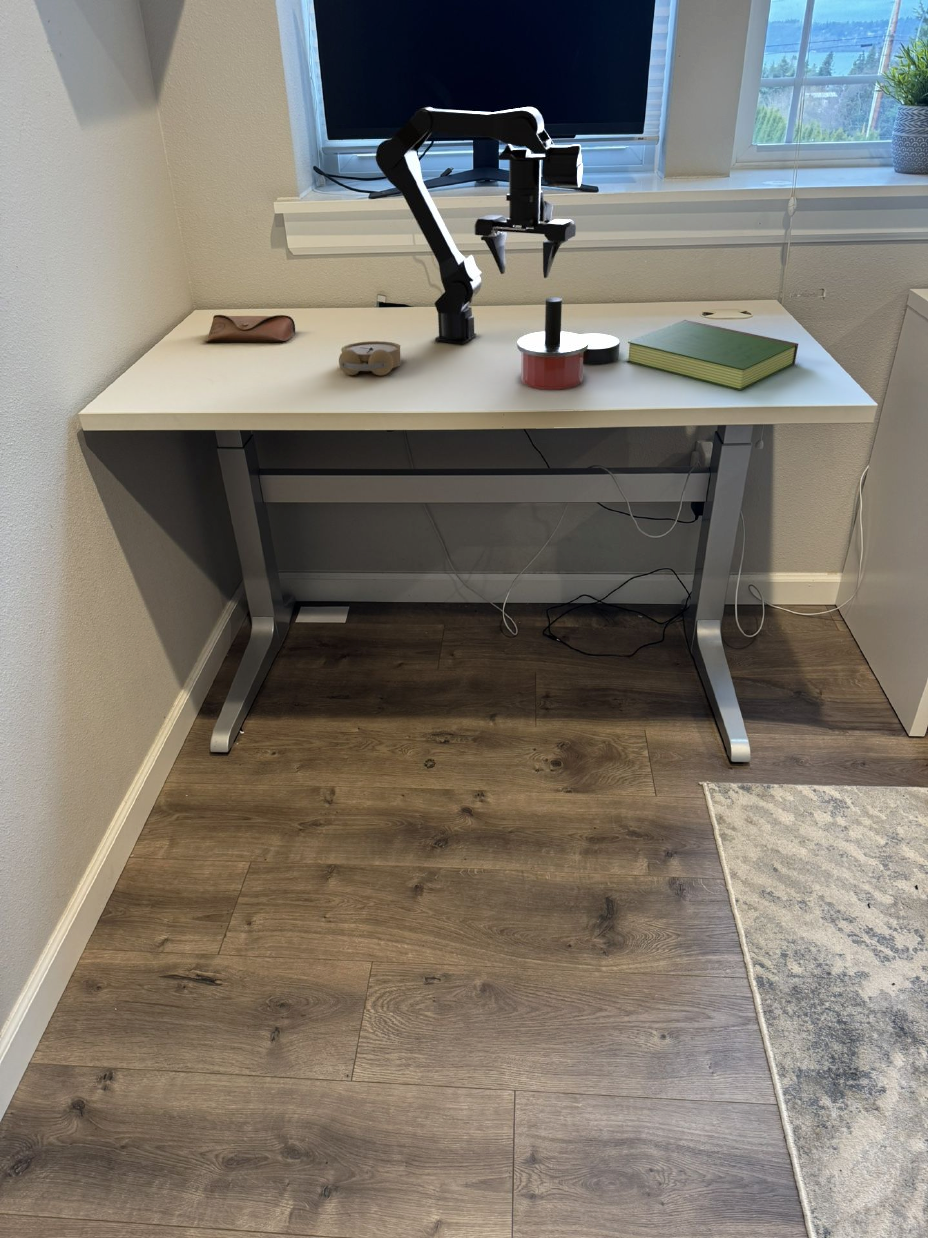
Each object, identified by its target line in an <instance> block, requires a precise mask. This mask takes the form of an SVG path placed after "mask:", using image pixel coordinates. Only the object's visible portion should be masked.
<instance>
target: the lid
mask: <svg viewBox="0 0 928 1238" xmlns="http://www.w3.org/2000/svg"><path fill="white" fill-rule="evenodd" d="M562 307H563V299H562V298H560V297H550V298H549V297H548V298H546V299H545V309H544V310H545V314H544V317H545V318H544V331H538V332H531V333H528V334H525V335H523V336H521V337H519V339H517V341H516V347H517V350H518V351H520V353H521V352H523V353H526V354H529V355H533V356H539V357H565V356H571V355H576V354H579V353H582V352H584V351H585V350H587V348H588V343H589V342H588V340H587V339H586V338H585V337H583V336H581V335H580V334H578V333H574V332H569V331H562V312H563V311H562V310H563V308H562Z"/></svg>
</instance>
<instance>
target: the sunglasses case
mask: <svg viewBox="0 0 928 1238" xmlns="http://www.w3.org/2000/svg"><path fill="white" fill-rule="evenodd" d="M295 335H296V323H295V321H294V319H293V317H291V316H290V315H285V314H277V315H227V314H226V315H224V314H215V315H214V316H213V317H212V322H211V326H210V328H209V333H208V335H207V339H206V340H204V343H214V342H217V343H219V342H221V343H252V344H254V343H255V344H261V343H262V344H265V343H278V342H287V341H289V340H291V339H292V338H293V337H294V336H295Z"/></svg>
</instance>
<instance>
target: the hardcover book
mask: <svg viewBox="0 0 928 1238" xmlns="http://www.w3.org/2000/svg"><path fill="white" fill-rule="evenodd" d="M627 344H628V345H629V346H628V359H626V362H627V363H631V364H633V365H638V366H642V367H646V368H649V369H653V370H658V371H662V372H665V373H669V374H673V375H678V376H682V377H685V378H688V379H692V380H697V381H701V382H705V383H708V384H713V385H717V386H720V387H724V388H728V389H732V390H736V391H739V392H741V391H743V390H745V389H747V388H749V387H751V386H753V385H756V384H757V383H759V382H761V381H763V380H765V379H767V378H769V377H771V376H773V375H775V374H777V373H780V372H782V371H783V370H786V369H788V368H790V367H791V366H793V365H795V364H796V360H797V354H798V348H799V343H798V342H793V341H788V340H783V339H779V338H773V337H769V336H764V335H758V334H756V333H755V334H754V333H750V332H746V331H739V330H736V329H731V328H726V327H721V326H717V325H712V324H707V323H702V322H697V321H692V320H687V319H684V320H682V321H678V322H675V323H674V324H671V325H668V326H665V327H663V328H660V329H658V330H655V331H652V332H649V333H646V334H644V335H642V336H639V337H636V338H634V339H631V340H629V341H627Z"/></svg>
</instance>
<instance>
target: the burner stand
mask: <svg viewBox="0 0 928 1238" xmlns="http://www.w3.org/2000/svg"><path fill="white" fill-rule="evenodd" d="M579 335H581V336H583V337H585V338H586V339H587V340H588V342H589V343H588V348H587V350H585V351H584V362H583V365H585V366H586V365H587V366H599V365H607V364H611V363H614V362H616V361H617V360H619V357H620V344H621V341H620V339H618V337H615V335H614V336H613V335H610V334H605V333H581V334H580V333H579Z"/></svg>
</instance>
